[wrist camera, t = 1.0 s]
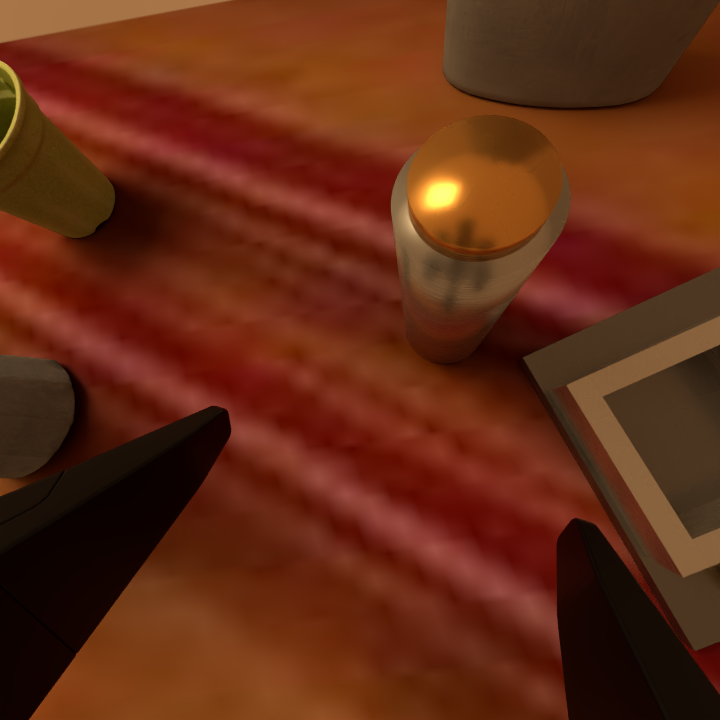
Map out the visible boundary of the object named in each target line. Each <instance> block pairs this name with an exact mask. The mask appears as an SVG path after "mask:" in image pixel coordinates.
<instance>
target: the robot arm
mask: <svg viewBox="0 0 720 720" xmlns="http://www.w3.org/2000/svg"><path fill="white" fill-rule="evenodd" d="M230 435H231V425H230V419H229V413H228V411H227V410H226V409H224V408H221V407H218V406H211V407H208V408H206V409H203V410H201V411H199V412H196V413H194V414H192V415H190V416H187V417H185V418H183V419H180V420H178V421H176V422H173V423H171V424H169V425H167V426H164V427H162V428H160V429H157V430H155V431H153V432H150V433H148V434H146V435H144V436H141V437H139V438H137V439H134V440H132V441H130V442H127V443H125V444H123V445H120V446H118V447H116V448H114V449H111V450H109V451H107V452H104V453H102V454H100V455H97V456H95V457H93V458H91V459H88V460H86V461H84V462H81V463H79V464H77V465H74V466H72V467H70V468H68V469H66V470H65V471H60V472H58V473H56V474H53V475H51V476H49V477H47V478H44V479H42V480H39V481H37V482H35V483H32V484H30V485H27V486H25V487H23V488H20V489H18V490H15V491H13V492H10V493H8V494H5V495H2V496H0V720H29V719H30V717H31V716H32V715H33V713H34V712H35V711H36V709H37V708H38V706H39V705H40V704H41V702H42V701H43V700H44V698H45V697H46V696H47V694H48V693H49V692H50V690H51V689H52V687H53V686H54V685H55V683H56V682H57V681H58V679H59V678H60V677H61V675H62V674H63V673H64V671H65V670H66V668H67V667H68V666H69V664H70V663H71V662H72V660H73V659H74V658H75V656H76V653H78V652H79V650H80V649H81V648H82V646H83V645H84V644H85V642H86V641H87V640H88V638H89V637H90V635H91V634H92V633H93V631H94V630H95V629H96V627H97V626H98V625H99V623H100V622H101V621H102V619H103V618H104V616H105V615H106V614H107V612H108V611H109V610H110V608H111V607H112V606H113V604H114V603H115V601H116V600H117V599H118V597H119V596H120V595H121V593H122V592H123V591H124V589H125V588H126V587H127V585H128V584H129V582H130V581H131V580H132V578H133V577H134V576H135V574H136V573H137V572H138V570H139V569H140V568H141V566H142V565H143V563H144V562H145V561H146V559H147V558H148V557H149V555H150V554H151V553H152V551H153V550H154V549H155V547H156V546H157V544H158V543H159V542H160V540H161V539H162V538H163V536H164V535H165V534H166V532H167V531H168V530H169V528H170V527H171V525H172V524H173V523H174V521H175V520H176V519H177V517H178V516H179V515H180V513H181V512H182V510H183V509H184V508H185V506H186V505H187V504H188V502H189V501H190V500H191V498H192V497H193V496H194V494H195V493H196V491H197V490H198V489H199V487H200V486H201V484H202V483H203V481H204V480H205V478H206V476H207V475H208V473H209V471H210V470H211V468H212V466H213V465H214V463H215V461H216V459H217V458H218V456H219V454H220V453H221V451H222V449H223V448H224V446H225V444H226V443H227V441H228V439H229V437H230ZM557 619H558V630H559V639H560V647H561V656H562V665H563V674H564V682H565V691H566V700H567V709H568V717H569V720H720V694H719V693H718V692H717V690H716V689H715V687H714V686H713V685H712V683H711V682H710V681H709V679H708V678H707V677H706V675H705V674H704V672H703V671H702V670H701V668H700V667H699V666H698V664H697V663H696V661H695V660H694V659H693V657H692V656H691V655H690V653H689V652H688V650H687V649H686V648H685V646H684V645H683V644H682V642H681V641H680V639H679V638H678V637H677V635H676V634H675V633H674V631H673V630H672V628H671V627H670V626H669V624H668V623H667V622H666V620H665V619H664V617H663V616H662V615H661V613H660V612H659V611H658V609H657V608H656V606H655V605H654V604H653V602H652V601H651V600H650V598H649V597H648V595H647V594H646V593H645V591H644V590H643V589H642V587H641V586H640V584H639V583H638V582H637V580H636V579H635V578H634V576H633V575H632V573H631V572H630V571H629V569H628V568H627V567H626V565H625V564H624V563H623V561H622V560H621V558H620V557H619V556H618V554H617V553H616V552H615V550H614V549H613V547H612V546H611V545H610V543H609V542H608V541H607V539H606V538H605V536H604V535H603V534H602V532H601V531H600V530H599V528H598V527H597V526H596V525H595V524H593V523H591V522H588V521H585V520H582V519H579V518H574V519H572V520H571V521H570V522H569V524H568V525H567V526H566V528H565V529H564V530H563V532H562V533H561V534H560V536H559V538H558V540H557Z"/></svg>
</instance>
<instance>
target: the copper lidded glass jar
mask: <svg viewBox="0 0 720 720" xmlns="http://www.w3.org/2000/svg"><path fill="white" fill-rule="evenodd" d="M570 200H571V194H570V185H569V181H568V177H567V175H566V172H565V170H564V168H563V166H562V164H561V162H560V158H559V156H558V154H557V151H556V150H555V148H554V147H553V145H552V144H551V142H550V141H549V140H548V139H547V138H546V137H545V136H544V135H543V134H542V133H541V132H540V131H538V130H537V129H535V128H534V127H532V126H530V125H528V124H526V123H524V122H522V121H519V120H516V119H513V118H509V117H505V116H496V115H484V116H475V117H470V118H465V119H462V120H459V121H456V122H454V123H452V124H450V125H447V126H446V127H444V128H442V129H441V130H439V131H438V132H436V133H435V134H434V135H432V136H431V137H430V138H429V139H428V140H427V141H426V142H425V143H424V144H423V145H422V146H421V147H420V148H419V149H418V150H417V151H416V152H415V153H414V154H413V155H412V156H411V157H410V158H409V159H408V161H407V162H406V163H405V165H404V166H403V168H402V169H401V171H400V173H399V175H398V177H397V179H396V182H395V185H394V188H393V192H392V198H391V213H392V221H393V229H394V237H395V246H396V254H397V262H398V270H399V278H400V287H401V295H402V303H403V311H404V320H405V328H406V335H407V338H408V341H409V343H410V345H411V347H412V348H413V349H414V350H415V352H416V353H417V354H419V355H420V356H421V357H423V358H424V359H426V360H428V361H431V362H434V363H439V364H450V363H455V362H459V361H461V360H463V359H465V358H467V357H468V356H470V355H471V354H472V353H473V352H474V351H475V350H476V349H477V347H478V346H479V345H480V343H481V342H482V341H483V339H484V338H485V336H486V335H487V334H488V332H489V331H490V330H491V328H492V327H493V326H494V324H495V323H496V321H497V320H498V319H499V317H500V316H501V315H502V313H503V312H504V311H505V309H506V308H507V306H508V305H509V304H510V302H511V301H512V300H513V298H514V297H515V296H516V294H517V293H518V291H519V290H520V289H521V287H522V286H523V285H524V283H525V282H526V281H527V279H528V278H529V276H530V275H531V274H532V272H533V271H534V270H535V268H536V267H537V266H538V264H539V263H540V261H541V260H542V259H543V257H544V256H545V255H546V253H547V252H548V251H549V249H550V248H551V246H552V245H553V244H554V242H555V241H556V240H557V238H558V237H559V235H560V233H561V232H562V230H563V228H564V226H565V223H566V221H567V218H568V214H569V210H570Z"/></svg>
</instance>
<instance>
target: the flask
mask: <svg viewBox="0 0 720 720" xmlns="http://www.w3.org/2000/svg"><path fill="white" fill-rule="evenodd" d="M719 2H720V0H447V14H446V29H445V43H444V57H443V73H444V75H445V77H446V79H447V81H448V82H450V83H451V84H452V85H454V86H455V87H456V88H458V89H460V90H462V91H465V92H467V93H469V94H472V95H476V96H479V97H483V98H487V99H492V100H497V101H501V102H507V103H514V104H520V105H530V106H540V107H559V108H581V107H601V106H613V105H620V104H625V103H629V102H633V101H636V100H639V99H641V98H644V97H646V96H649V95H650V94H651V93H652V92H654V91H655V90H656V89H657V88H658V87H659V86H660V85H661V84H662V82H663V81H664V80H665V78H666V77H667V75H668V74H669V72H670V71H671V70H672V68H673V67H674V65H675V64H676V63H677V61H678V60H679V58H680V57H681V55H682V54H683V53H684V51H685V50H686V48H687V47H688V46H689V44H690V43H691V41H692V40H693V38H694V37H695V36H696V34H697V33H698V31H699V30H700V29H701V27H702V26H703V24H704V23H705V22H706V20H707V19H708V17H709V16H710V14H711V13H712V12H713V10H714V9H715V7H716V6H717V5H718V3H719Z"/></svg>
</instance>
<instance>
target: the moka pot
mask: <svg viewBox="0 0 720 720" xmlns="http://www.w3.org/2000/svg"><path fill="white" fill-rule="evenodd" d="M74 405H75V398H74V391H73V388H72V384H71V379H70V377H69V375H68V374H67V373H66V371H65V370H64V369H63V367H62V366H61V365H59V364H58V362H57V361H55V360H49V359H40V358H31V357H20V356H11V355H0V478H16V479H19V478H22V477H24V476H26V475H28V474H31V473H33V472H35V471H37V470H38V469H39V468H40V467H42V466H43V465H44V464H46V463H47V462H48V460H49V459H50V458H51V457H52V456H53V455H54V454H55V453H56V451H57V450H58V449H59V448H60V446H61V444H62V442H63V440H64V438H65V437H66V435H67V433H68V431H69V429H70V426H71V425H72V423H73V420H74V412H75V407H74Z"/></svg>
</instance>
